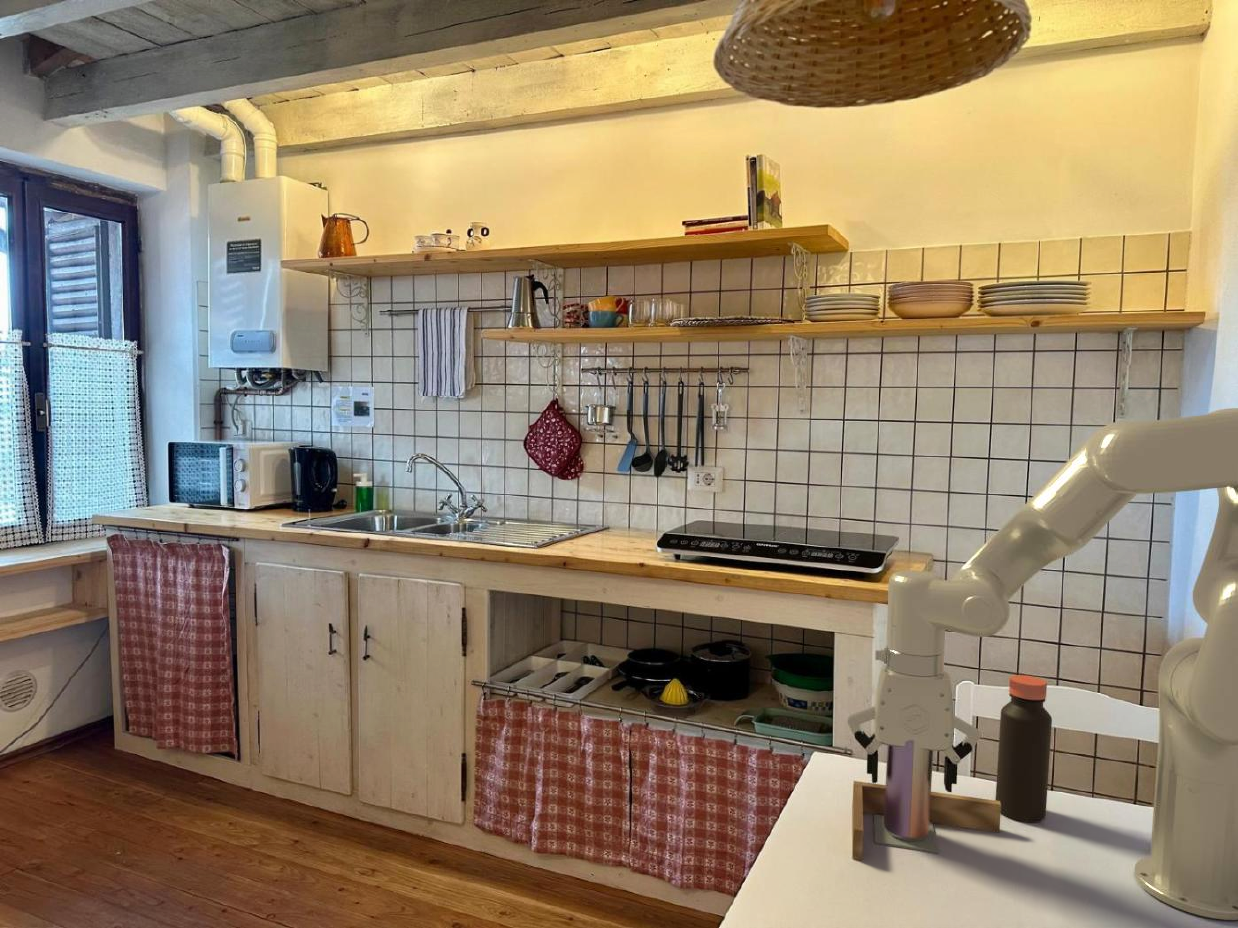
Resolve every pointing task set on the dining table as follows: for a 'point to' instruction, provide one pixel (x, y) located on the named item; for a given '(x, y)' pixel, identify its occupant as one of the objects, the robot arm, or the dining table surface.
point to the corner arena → (941, 811)
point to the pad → (887, 839)
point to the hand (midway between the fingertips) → (910, 783)
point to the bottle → (1024, 751)
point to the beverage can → (908, 791)
